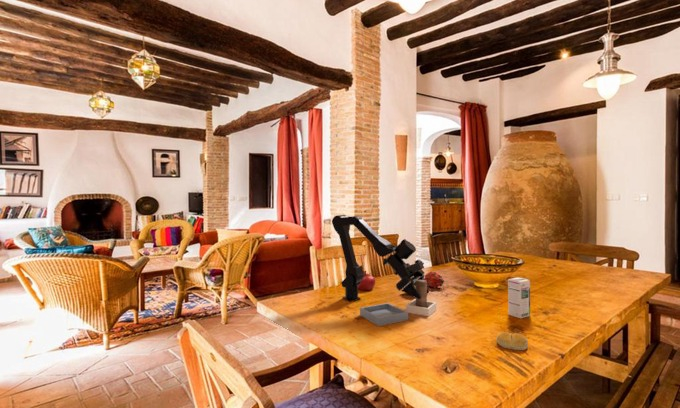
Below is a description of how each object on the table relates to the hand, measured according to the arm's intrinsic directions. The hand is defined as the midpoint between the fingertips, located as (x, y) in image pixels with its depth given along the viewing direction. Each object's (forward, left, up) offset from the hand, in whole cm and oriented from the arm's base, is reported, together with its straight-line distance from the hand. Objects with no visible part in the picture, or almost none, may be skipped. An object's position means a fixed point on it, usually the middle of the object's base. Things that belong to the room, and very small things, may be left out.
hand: (424, 295), depth 152 cm
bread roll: (+39, +3, -7) cm, 40 cm away
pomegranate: (-42, -3, -7) cm, 43 cm away
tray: (-2, -19, -7) cm, 20 cm away
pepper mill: (-1, -1, -7) cm, 7 cm away
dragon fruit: (-27, +29, -7) cm, 41 cm away
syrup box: (+22, +29, -7) cm, 37 cm away
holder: (-1, -1, -7) cm, 7 cm away
